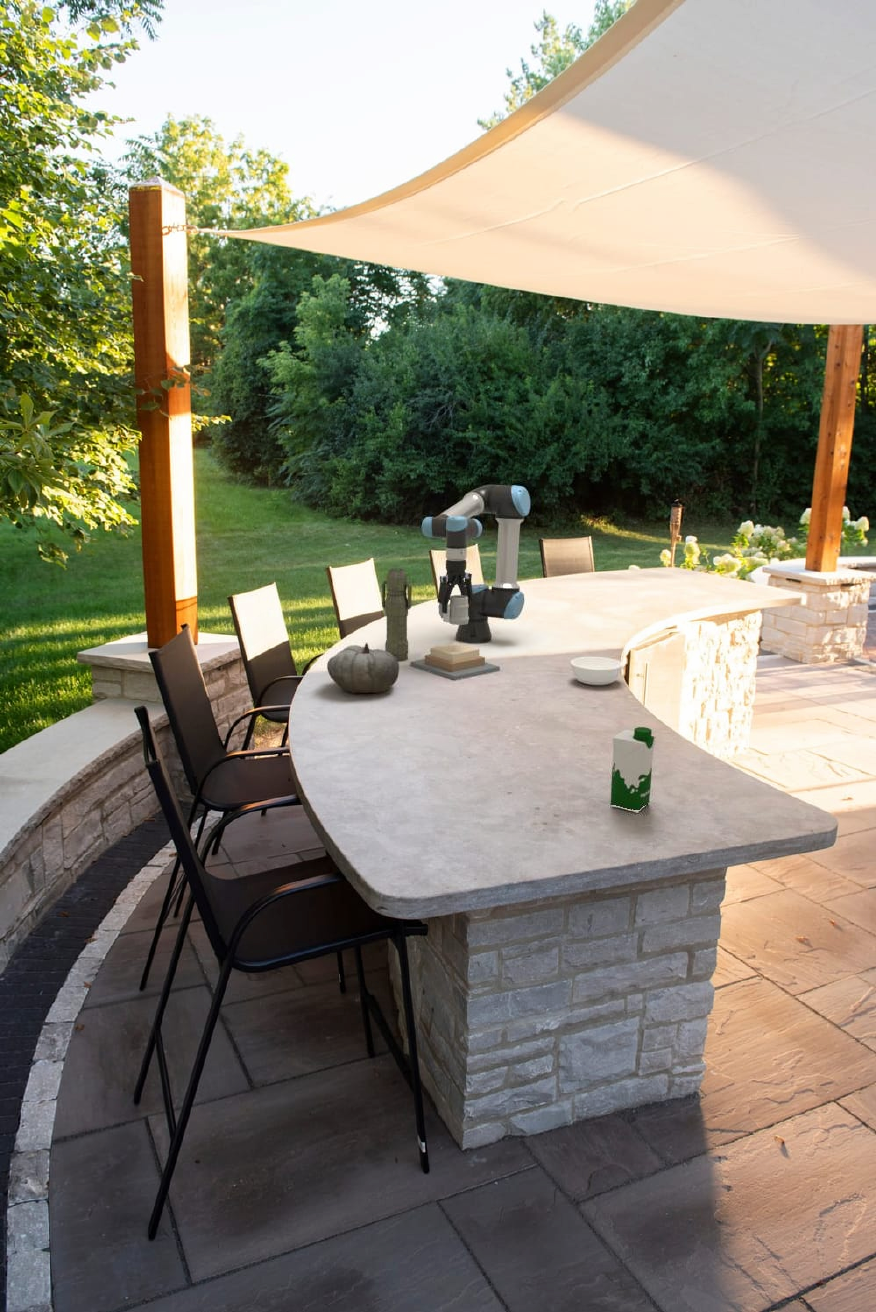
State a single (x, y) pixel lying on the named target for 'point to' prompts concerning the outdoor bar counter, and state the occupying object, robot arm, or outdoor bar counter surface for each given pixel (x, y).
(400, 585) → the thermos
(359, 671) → the gourd
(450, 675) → the plinth board
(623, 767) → the milk carton
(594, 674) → the bowl
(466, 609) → the mug
